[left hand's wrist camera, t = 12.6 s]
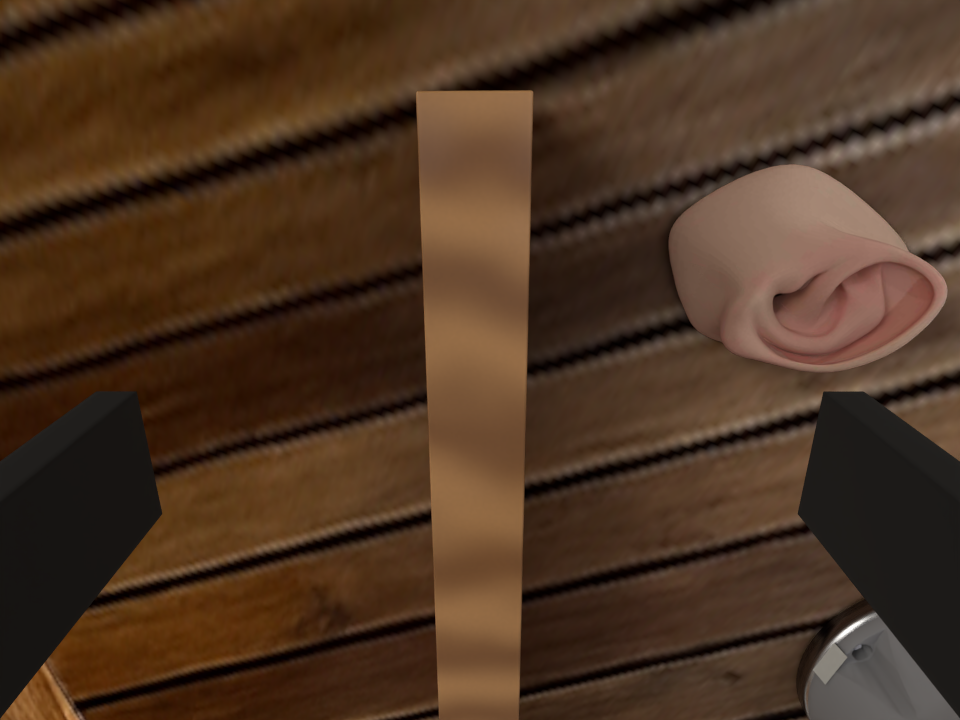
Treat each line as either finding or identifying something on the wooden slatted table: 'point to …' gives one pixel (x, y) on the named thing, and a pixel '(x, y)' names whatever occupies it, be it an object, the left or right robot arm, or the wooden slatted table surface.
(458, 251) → the post
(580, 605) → the wooden slatted table surface
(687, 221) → the anatomical model
